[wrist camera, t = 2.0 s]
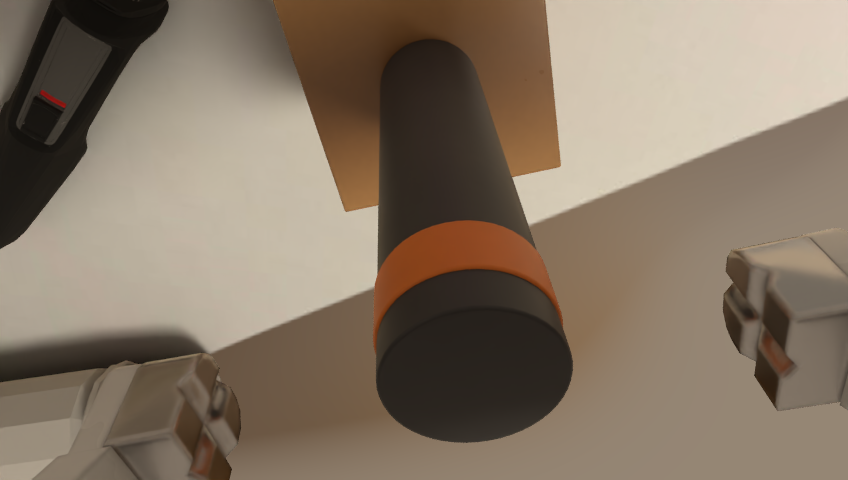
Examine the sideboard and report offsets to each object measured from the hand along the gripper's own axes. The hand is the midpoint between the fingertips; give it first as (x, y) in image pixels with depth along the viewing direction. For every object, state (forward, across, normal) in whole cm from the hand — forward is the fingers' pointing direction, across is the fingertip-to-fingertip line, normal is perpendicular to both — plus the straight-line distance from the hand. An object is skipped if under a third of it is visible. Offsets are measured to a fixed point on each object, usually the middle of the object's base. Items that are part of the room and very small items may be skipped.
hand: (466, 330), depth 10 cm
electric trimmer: (+20, +16, +1) cm, 26 cm away
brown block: (+20, 0, 0) cm, 20 cm away
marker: (+10, 0, 0) cm, 10 cm away
